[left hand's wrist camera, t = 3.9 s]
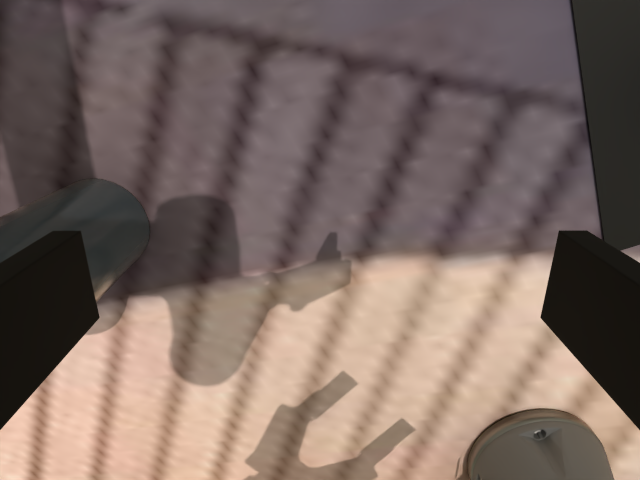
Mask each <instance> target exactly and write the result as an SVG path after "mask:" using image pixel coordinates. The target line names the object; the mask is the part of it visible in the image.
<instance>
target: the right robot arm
mask: <svg viewBox="0 0 640 480" xmlns="http://www.w3.org/2000/svg"><path fill="white" fill-rule="evenodd" d="M467 469H468V475H469V478H470V480H614V478H613V474H612V471H611V468H610V465H609V462H608V459H607V455H606V452H605V450H604V447H603V445H602V443H601V442H600V440H599V439H598V438H597V436H596V435H595V434H594V432H593V431H592V430H591V428H590V427H589V426H588V425H587V424H586V423H585V422H584V421H582V420H581V419H579V418H578V417H576V416H574V415H571V414H569V413H566V412H562V411H557V410H547V409H541V410H530V411H525V412H521V413H517V414H514V415H511V416H509V417H506V418H504V419H502V420H500V421H498V422H497V423H495V424H494V425H492V426H491V427H489V428H488V429H487V430H486V431H485V432H484V433H483V434H482V435H481V436H480V437H479V438H478V439H477V441H476V442H475V443H474V445H473V447H472V449H471V451H470V454H469V457H468V463H467Z"/></svg>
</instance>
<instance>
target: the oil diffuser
mask: <svg viewBox="0 0 640 480" xmlns="http://www.w3.org/2000/svg"><path fill="white" fill-rule="evenodd" d="M572 4H573V12H574V19H575V26H576V34H577V41H578V49H579V56H580V64H581V71H582V79H583V86H584V93H585V101H586V108H587V116H588V123H589V131H590V138H591V146H592V153H593V160H594V168H595V175H596V183H597V190H598V198H599V205H600V213H601V220H602V227H603V235H604V241H605V242H606V243H608V244H610V245H611V246H613V247H615V248H616V249H618V250H619V251H620V250H623V249H627V248H630V247H633V246H637V245H640V0H572Z"/></svg>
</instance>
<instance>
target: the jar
mask: <svg viewBox="0 0 640 480" xmlns="http://www.w3.org/2000/svg"><path fill="white" fill-rule="evenodd" d="M52 231H81V233H82V238H83V243H84V247H85V252H86V257H87V262H88V266H89V271H90V276H91V280H92V285H93V290H94V294H95V299H96V302H97V301H98V300H99V299H100V298H101V297H102V296H103V295H104V294H105V293H106V291H107V290H108V289H109V288H110V287H111V286H112V285H113V284H114V283H115V282H116V281H117V280H118V279H119V278H120V277H121V276H122V275H123V274H124V273H125V272H126V271H127V270H128V268H129V267H130V266H131V265H132V264H133V263H134V262H135V261H136V260H137V259H138V258H139V257H140V256H141V255H142V253H143V252H144V250H145V249H146V247H147V244H148V241H149V234H150V229H149V222H148V218H147V215H146V213H145V211H144V209H143V207H142V206H141V204H140V203H139V202H138V200H137V199H136V198H135V197H134V196H133V195H132V194H131V193H130V192H128V191H127V190H126V189H124V188H123V187H121V186H119V185H117V184H115V183H112V182H110V181H106V180H102V179H84V180H80V181H77V182H74V183H72V184H70V185H68V186H66V187H64V188H61V189H59V190H57V191H55V192H53V193H51V194H49V195H46V196H44V197H42V198H40V199H38V200H36V201H34V202H31V203H29V204H27V205H25V206H23V207H21V208H18V209H16V210H14V211H12V212H10V213H8V214H6V215H3V216H1V217H0V263H1V262H3V261H4V260H6V259H7V258H9V257H11V256H12V255H14V254H16V253H17V252H19V251H21V250H22V249H24V248H25V247H27V246H29V245H30V244H32V243H34V242H35V241H37V240H39V239H40V238H42V237H44V236H45V235H47V234H48V233H50V232H52Z"/></svg>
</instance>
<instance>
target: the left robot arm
mask: <svg viewBox="0 0 640 480" xmlns="http://www.w3.org/2000/svg"><path fill="white" fill-rule="evenodd" d="M98 319H99V313H98V309H97V304H96V299H95V294H94V290H93V285H92V280H91V276H90V271H89V266H88V262H87V257H86V252H85V247H84V243H83V238H82V233H81V231H52V232H50V233H48V234H47V235H45V236H44V237H42V238H40V239H39V240H37V241H35V242H34V243H32V244H30V245H29V246H27V247H25V248H24V249H22V250H21V251H19V252H17V253H16V254H14V255H12V256H11V257H9V258H7V259H6V260H4V261H3V262H1V263H0V430H1V429H2V427H3V426H4V425H5V424H6V423H7V422H8V421H9V419H10V418H11V417H12V416H13V415H14V414H15V413H16V412H17V410H18V409H19V408H20V407H21V406H22V405H23V404H24V402H25V401H26V400H27V399H28V398H29V397H30V396H31V395H32V393H33V392H34V391H35V390H36V389H37V388H38V387H39V386H40V384H41V383H42V382H43V381H44V380H45V379H46V378H47V376H48V375H49V374H50V373H51V372H52V371H53V370H54V369H55V367H56V366H57V365H58V364H59V363H60V362H61V361H62V359H63V358H64V357H65V356H66V355H67V354H68V353H69V352H70V350H71V349H72V348H73V347H74V346H75V345H76V344H77V343H78V341H79V340H80V339H81V338H82V337H83V336H84V335H85V333H86V332H87V331H88V330H89V329H90V328H91V327H92V326H93V324H94V323H95V322H96V321H97V320H98ZM541 319H542V320H543V321H544V322H545V323H546V324H547V326H548V327H549V328H550V329H551V330H552V331H553V332H554V333H555V335H556V336H557V337H558V338H559V339H560V340H561V341H562V343H563V344H564V345H565V346H566V347H567V348H568V349H569V350H570V352H571V353H572V354H573V355H574V356H575V357H576V358H577V359H578V361H579V362H580V363H581V364H582V365H583V366H584V367H585V369H586V370H587V371H588V372H589V373H590V374H591V375H592V376H593V378H594V379H595V380H596V381H597V382H598V383H599V384H600V386H601V387H602V388H603V389H604V390H605V391H606V392H607V393H608V395H609V396H610V397H611V398H612V399H613V400H614V401H615V402H616V404H617V405H618V406H619V407H620V408H621V409H622V410H623V412H624V413H625V414H626V415H627V416H628V417H629V418H630V419H631V421H632V422H633V423H634V424H635V425H636V426H637V427H638V429H639V430H640V263H639V262H637V261H636V260H634V259H633V258H631V257H629V256H628V255H626V254H624V253H623V252H621V251H619V250H618V249H616V248H615V247H613V246H611V245H610V244H608V243H606V242H605V241H603V240H601V239H600V238H598V237H596V236H595V235H593V234H592V233H590V232H588V231H559V233H558V238H557V243H556V247H555V252H554V257H553V262H552V266H551V271H550V276H549V280H548V285H547V290H546V294H545V299H544V304H543V309H542V313H541Z"/></svg>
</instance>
